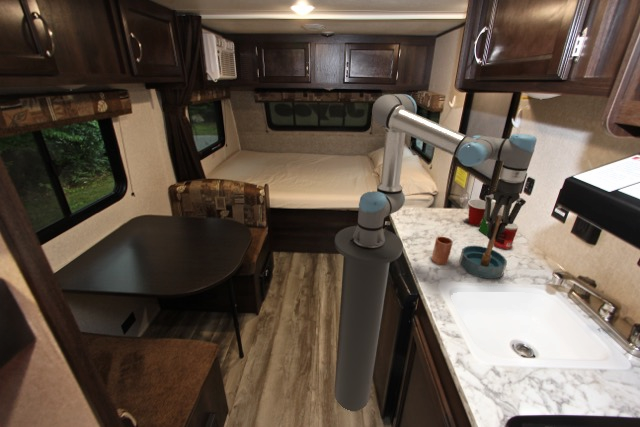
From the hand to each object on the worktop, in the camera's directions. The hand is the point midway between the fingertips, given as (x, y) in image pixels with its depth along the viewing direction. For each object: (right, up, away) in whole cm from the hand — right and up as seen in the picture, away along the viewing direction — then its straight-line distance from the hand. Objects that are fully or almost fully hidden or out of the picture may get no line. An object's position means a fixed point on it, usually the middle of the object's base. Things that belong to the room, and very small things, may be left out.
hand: (492, 238), depth 112 cm
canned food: (+20, -6, +26) cm, 33 cm away
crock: (-15, -11, +13) cm, 23 cm away
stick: (0, -11, +5) cm, 12 cm away
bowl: (+1, -13, +9) cm, 16 cm away
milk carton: (+20, -1, +37) cm, 43 cm away
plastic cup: (+18, +4, +47) cm, 51 cm away
